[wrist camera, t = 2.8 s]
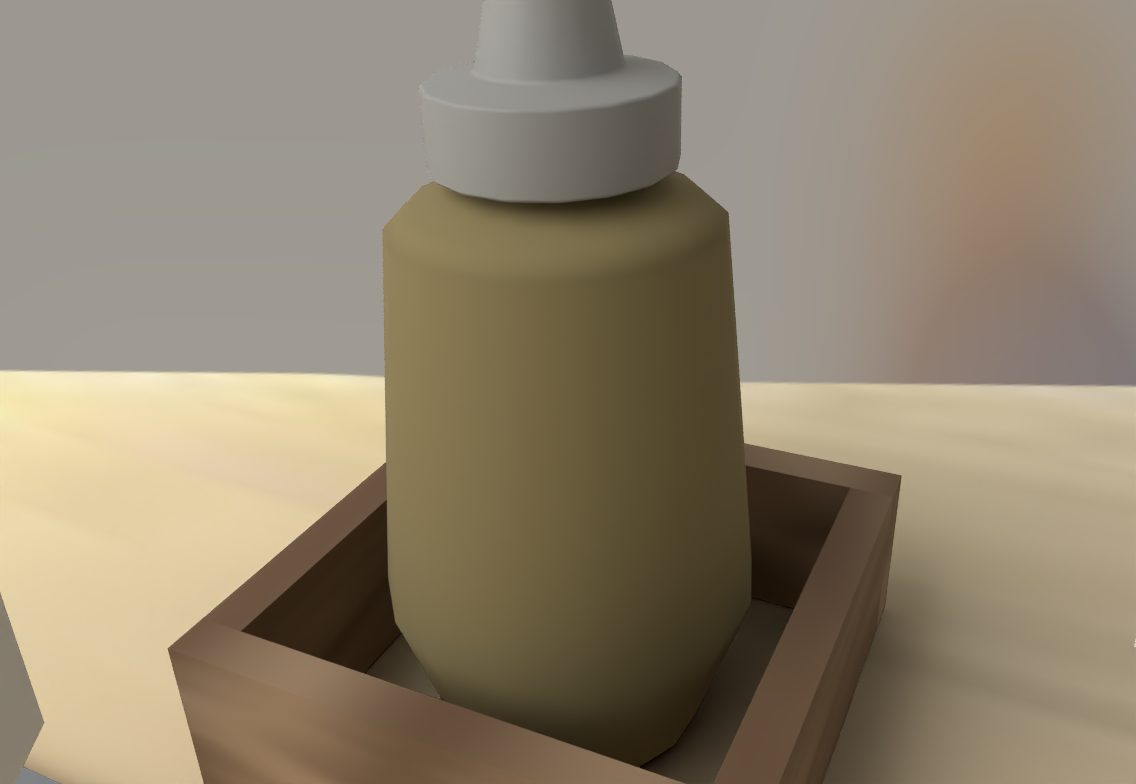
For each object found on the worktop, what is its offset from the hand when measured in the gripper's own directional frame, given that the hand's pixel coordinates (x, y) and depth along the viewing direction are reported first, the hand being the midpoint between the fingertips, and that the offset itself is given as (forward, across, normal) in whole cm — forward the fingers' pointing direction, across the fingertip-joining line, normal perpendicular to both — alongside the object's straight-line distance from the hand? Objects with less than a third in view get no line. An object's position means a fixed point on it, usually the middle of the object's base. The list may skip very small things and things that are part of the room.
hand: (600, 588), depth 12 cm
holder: (+10, 0, -11) cm, 15 cm away
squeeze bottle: (+10, 0, -11) cm, 15 cm away
